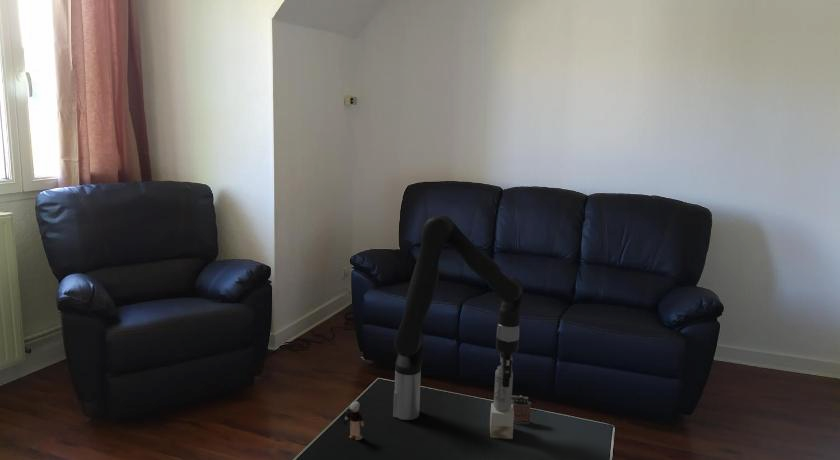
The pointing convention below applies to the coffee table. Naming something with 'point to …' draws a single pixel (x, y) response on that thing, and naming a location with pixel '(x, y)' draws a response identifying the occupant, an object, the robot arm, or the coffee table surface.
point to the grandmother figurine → (355, 421)
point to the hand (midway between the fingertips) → (504, 381)
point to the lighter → (521, 409)
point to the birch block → (501, 431)
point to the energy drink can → (502, 391)
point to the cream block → (502, 417)
